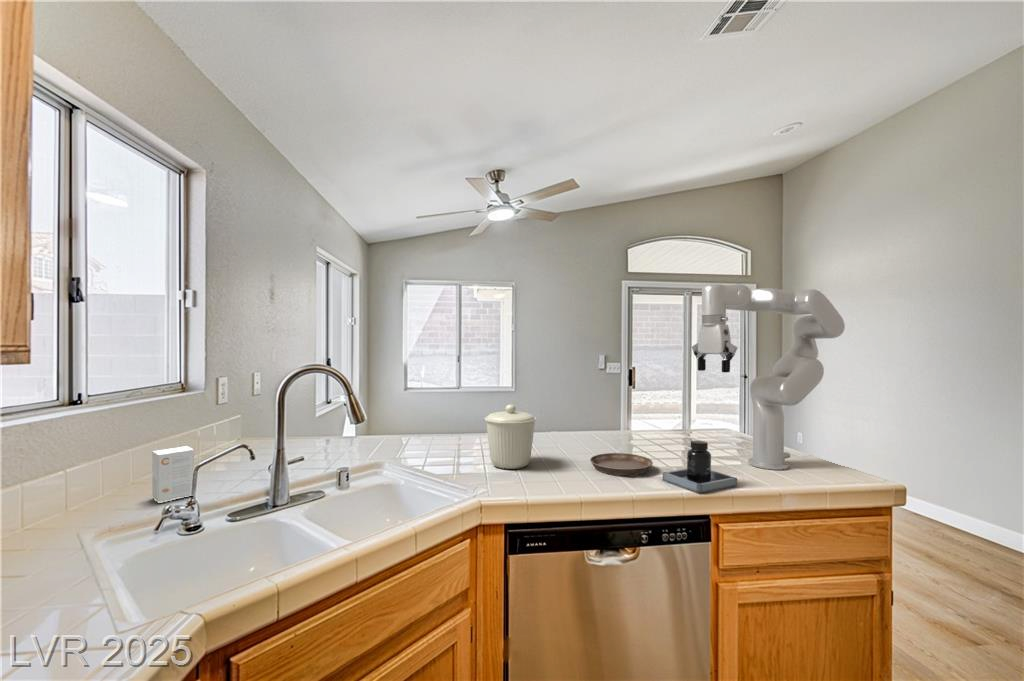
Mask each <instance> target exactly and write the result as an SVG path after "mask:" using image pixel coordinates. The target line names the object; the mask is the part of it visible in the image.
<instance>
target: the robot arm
mask: <svg viewBox="0 0 1024 681" xmlns="http://www.w3.org/2000/svg"><path fill="white" fill-rule="evenodd" d="M727 310H731V311H747V312H756V313H771V314H772V313H773V314H778V315H779V314H780V315H788V316H799V315H802V316H801V317H799V318H797V319H796V320H795V322H794V323H793V338H794V339H793V340H794V342H793V345H792V346H791V347H790V349H789V350H788V351H786V352H785V353H784V355H783V356H782V357H781V358H779V359H778V360H777V362H776V363H775V364H774V365H773V368H772V375H770V374H768V375H767V374H766V375H765V374H763V375H759V376H757V377H756V376H755V377H754V378H753V380H752V381H751V383H750V386H749V387H750V388H749V391H750V398H751V404H752V418H753V419H752V457H750V458H748V459H747V464H748V465H750V466H752V467H755V468H756V467H757V468H758V469H759V468H760V469H765V470H766V469H767V470H775V471H776V470H777V471H778V470H779V471H781V470H782V471H783V469H784V470H787V469H789V468H790V464H789V463H788V462H786V461H785V460H786V459H789V458H791V453H790V452H788V451H787V452H785V451H784V450H785V449H784V448H785V445H784V444H785V443H784V442H785V415H784V410H783V408H782V406H788V407H790V406H791V407H793V406H796V405H798V404H799V403H801V402H802V401H803V400H804V399H805V398H806V397H807V396H808V395H809V394H810V393H811V392H812V391H813V390H814V389H815V388H816V387H817V386H818V385H819V384H820V383H821V381H822V379H823V378H824V373H825V370H824V369H825V368H824V365H823V363H822V362H821V361H820V360H819V359H818V357H819V349H818V345H817V342H816V339H836V338H839V337H840V336H842V334H843V333H844V332H845V327H846V326H845V324H846V323H845V320H844V318H843V317H842V315H841V314H840V313H839V311H838V310H837V308H836V307H835V306H834V304H833V303H832V302H831V301H830V299H829V298H828V297H827V296H826V295H825V294H824V293H823V292H821V291H820V290H817V289H813V288H811V289H805V290H788V289H781V288H780V289H779V288H772V287H764V288H761V287H760V288H754V289H753V288H752V289H750V288H749V287H748V286H747V285H746V284H741V283H737V284H735V283H734V284H727V285H726V284H721V283H720V284H719V283H717V284H715V283H713V284H712V283H710V284H706V285H704V286H702V289H701V325H700V326H699V332H698V340H697V341H698V342H697V343H696V344H693V345H692V346H691V349H692V351H693V352H692V353H693V355H694V356H695V359H696V360H697V371H698V372H699V371H701V372H703V371H706V370H707V369H706V368H707V367H706V358H705V357H706V356H707V355H720V356H721V358H722V360H721V372H722V373H730V372H731V361H732V360H733V358H734V356H736V353H737V350H738V347H737V346H736V345H734V344H733V343H731V342H732V341H731V340H732V339H731V332H730V328H729V325H728V324H726V323H727V322H728V321H729V317H728V316H727ZM803 315H804V316H803Z"/></svg>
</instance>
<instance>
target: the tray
mask: <svg viewBox="0 0 1024 681" xmlns="http://www.w3.org/2000/svg"><path fill="white" fill-rule="evenodd" d="M662 481H663V482H665V481H666V482H665V483H668V484H671V485H674V486H676V487H679V488H681V489H685V490H687V491H689V492H693V493H695V494H699V495H701V494H706V493H711V492H712V493H713V492H717V491H722V490H725V489H732V488H736V487H738V477H735V476H732V475H728V474H725V473H722V472H718V471H715V470H712V469H711V482H706V483H701V484H698V483H695V482H692V481H689V480H688V479H687V468H683V469H682V468H681V469H674V470H669V471H664V472H662ZM731 487H732V488H731Z"/></svg>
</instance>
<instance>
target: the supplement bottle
mask: <svg viewBox="0 0 1024 681" xmlns="http://www.w3.org/2000/svg"><path fill="white" fill-rule="evenodd" d="M686 469H687V479H688V480H689V481H692V482H695V483H698V484H701V483H706V482H711V470H712V454H711V452H710V451H709V446H708V442H707V441H704V440H690V449H688V450H687V452H686Z"/></svg>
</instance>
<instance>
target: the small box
mask: <svg viewBox="0 0 1024 681" xmlns="http://www.w3.org/2000/svg"><path fill="white" fill-rule="evenodd" d="M151 458H152V459H151V460H152V463H151V464H152V465H151V467H152V468H151V469H152V471H151V472H152V475H151V476H152V481H151V482H152V486H151V487H152V490H151V491H152V492H151V493H152V495H151V496H153V497H154V498H155V499H156V500H157V501H165V500H170V499H173V498H177V497H185V496H190V494H191V488H192V479H193V473H194V474H195V449H193V448H192V447H190V446H188V445H183V446H179V447H172V448H165V449H159V450H152V455H151Z"/></svg>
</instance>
